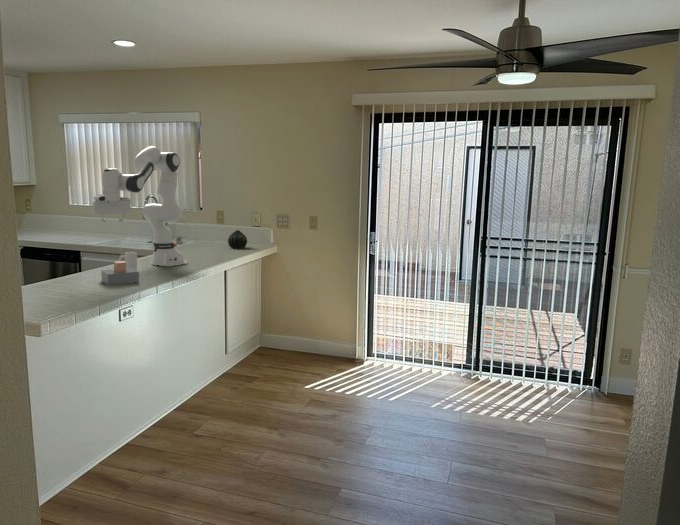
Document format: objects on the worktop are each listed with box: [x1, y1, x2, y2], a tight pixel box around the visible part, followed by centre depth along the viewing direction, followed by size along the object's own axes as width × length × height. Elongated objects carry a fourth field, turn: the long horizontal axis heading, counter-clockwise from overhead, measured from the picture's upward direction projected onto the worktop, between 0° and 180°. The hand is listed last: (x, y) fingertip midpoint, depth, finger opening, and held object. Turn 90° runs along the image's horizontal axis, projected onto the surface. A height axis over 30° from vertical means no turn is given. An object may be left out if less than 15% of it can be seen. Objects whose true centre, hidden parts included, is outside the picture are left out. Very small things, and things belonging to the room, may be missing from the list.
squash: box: [227, 229, 248, 250], centre depth 413 cm, size 14×15×15 cm
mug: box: [118, 251, 138, 271], centre depth 306 cm, size 10×7×12 cm, turn 107°
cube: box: [113, 260, 126, 272], centre depth 282 cm, size 5×5×5 cm
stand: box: [100, 268, 140, 286], centre depth 283 cm, size 16×12×6 cm
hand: (112, 221), depth 293 cm, fingers open, 8 cm apart
